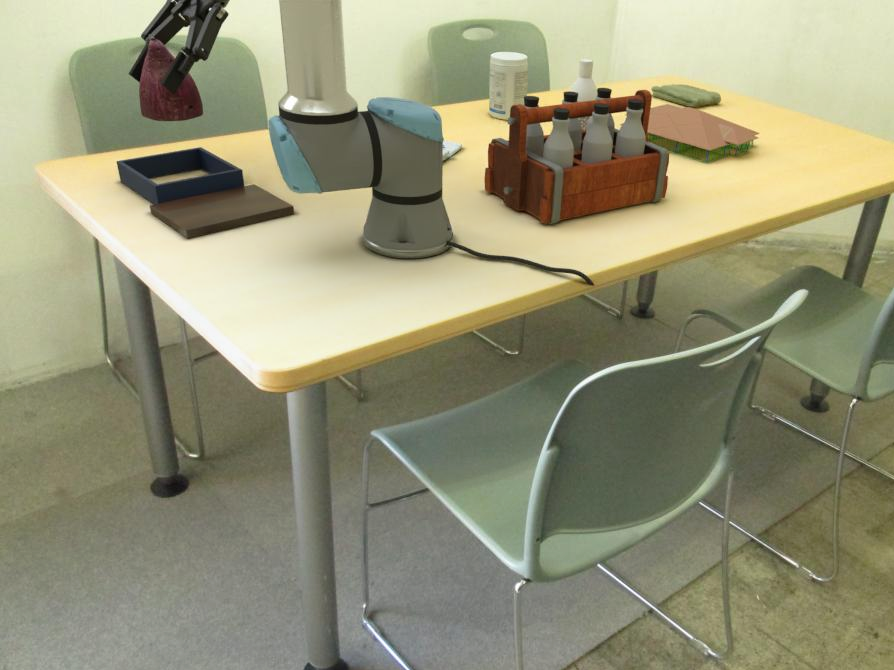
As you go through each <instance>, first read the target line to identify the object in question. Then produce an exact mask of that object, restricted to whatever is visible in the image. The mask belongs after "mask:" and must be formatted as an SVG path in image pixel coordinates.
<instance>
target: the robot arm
mask: <svg viewBox="0 0 894 670" xmlns="http://www.w3.org/2000/svg"><path fill="white" fill-rule="evenodd" d="M230 1H231V0H166V2H165V4H164V5H163V6H162V8H160V10H159V11H158V12H157V14H156V15H155V16H154V18H153V19H152V21H150V23H149V24H148V25H147V26H146V28H145V29H144V30H143V31H142V33H141V34H140V38H141V39H142V40H143V41H144V42H145V45H144V46H143V48H142V49H141V52H139V55H138V56H137V59H136V60H135V61H134V64H133V66H131V69H130V70H129V71H128V75H129V76H130V77H131V78H132V79H134V80H135V81H137V82H138V83H139V84H140V79H141V73H142V69H143V65H144V61H145V58H146V56H147V52H148V46H149V42H150V41H151V40H152V39H151V37H154V38H156V39H157V40H159V41H161V42H162V43H163V44H164V45H167V44H168V42H170V41H171V40H172V39H174V37H175V36H176V35H177V34H178V33H179V32H180V31H182V29H183V28H188V32H187V36H186V40H185V45H184V46H183V47H180V50H181V51H179V52H178V53H177V55H176V57H174V58H175V60H174V62H173V63H172V65H171V67H170V68H169V70H168V72H167V73H166V75H165V77H164V78H163V80H162V82H161V83H160V84H162V85H163V86H164V87H165V88H167V89H168V90H169V91H170V92H171V93H173V94H175V93H176V92H177V90H178V88H179V87H180V85H181V83H182V81H183V80H184V78H185V76H186V75H187V74H188V73H189V74H190V71H191V69H192V68H193V66H194V64H195V63H198V62H199V61H200V60H202V61H204V62H205V61H207V60H208V59H209V57H210V55H211V52H212V50H213V47H214V45H215V42H216V40H217V38H218V35H219V33H220V30H221V28H222V26H223V24H224V23H225V21H226V19H227V18H228V17H229V12H228V11H227V10H226V9H225V8H226V7H227V6H228V4H229V2H230ZM278 3H279V14H280V15H279V16H280V24H281V25H280V26H281V34H282V35H281V36H282V46H283V57H284V67H285V78H286V88H287V91H286V92H285V93H284V94H283V95H282V96H281V98H280V99H278V101H277V103H278V105H277V106H278V115H273V116H272V117H269V119H268V133H269V138H270V139H269V140H270V143H271V148H272V150H273V154H274V155H273V156H274V158H275V160H276V164H277V167H278V169H279V173H280V175H281V177H282V179H283V181H284V183H285V185H286V186H287V187H288V188H289V190H290V191H292V193H293V192H294V193H295V194H298V195H299V194H300V195H301V194H304V195H305V194H318V195H321V194H323V193H333V192H342V191H351V190H360V189H368V188H369V189H370V188H371V201H370V203H369V208H368V212H367V216H366V220H365V223H364V225H363V229H362V239H363V240H362V241H363V244H364V246H365V247H366V249H369V250H370V251H372V252H374V253H376V254H379V255H381V256H385V257H391V258H396V259H423V258H428V257H429V258H430V257H434V256H437V255H440V254H442V253H444V252H446V251H448V250H449V249H451V247H453V248H455V249H458V250H460V251H462V252H465V253H467V254H470V255H472V256H473V257H477V258H481V259H487V260H496V261H508V262H515V263H520V264H524V265H527V266H531V267H533V268H535V269H536V268H537V269H540V270H543V271H547V272H551V273H561V274H562V273H563V274H571V275H574V276H575V275H576V276H578V277H580V278H581V279H582V280H584V281H585V282H586V283H587V285H589V286H592V287H593V286H595V283H594V282H593V281H592V279H591V278H590V277H589V276H587V274H585V273H584V272H582V271H580V270H577V269H573V268H566V267H565V268H564V267H553V266H548V265H545V264H541V263H539V262H535V261H532V260H529V259H525V258H521V257H516V256H510V255H497V254H489V253H488V254H487V253H482V252H479V251H476V250H474V249H472V248H469V247H467V246H465V245H462V244H459V243H456V242H455V241H454V232H453V228H452V225H451V221H450V218H449V215H448V212H447V208H446V205H445V202H444V198H443V163H444V161H443V141H445V139H444V137H443V120H442V116H441V115H440V113H439V112H438V111H437V110H436V109H435V108H433V107H432V106H430V105H427V104H426V103H425V104H424V103H422V102H419V101H415V100H412V99H407V98H406V99H405V98H400V97H389V96H379V97H376V98H375V97H374V98H373V97H372V98H371V99H369V101H368V103H367V105H366V109H367V110H362V111H361V110H360V111H359V105H358V101H357V100H356V99H355V98H354V97H353V96H352V95H351V94H350V93H349V92H348V90H347V89H348V87H347V74H346V73H347V72H346V57H345V40H344V24H343V23H344V21H343V5H342V0H278Z"/></svg>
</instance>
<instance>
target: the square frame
mask: <svg viewBox="0 0 894 670" xmlns="http://www.w3.org/2000/svg"><path fill="white" fill-rule="evenodd" d="M116 166H117V167H116V168H117V171H118V176H119V180H120V183H122V184H123V185H125V187H128V188H129V189H131V190H132V191H133V192H135V193H136V194H138V195H139V196H140V197H142V198H144V199H145V200H147V201H148V202H150V203H151V204H152V205H154V204H159V203H164V202H169V201H174V200H179V199H184V198H189V197H193V196H198V195H203V194H208V193H213V192H218V191H223V190H228V189H233V188H238V187H243V186H245V181H244V180H245V179H244V175H243V174H244V173H243V169H242V168H241V167H238V166H236V165H234V164H232V163H231V162H229V161H227V160H225V159H223V158H221V157H220V156H218V155H216V154H214V153H213V152H211V151H209V150H207V149H205V148H204V147H201V146H199V147H193V148H188V149H187V148H185V149H180V150H174V151H169V152H163V153H158V154H157V153H156V154H151V155H146V156H139V157H134V158H128V159H122V160H121V159H120V160H116ZM200 169H202V170H204V171H206V172H208V173H209V174H204V175H199V176H194V177H193V176H192V177H189V178H183V179H178V180H173V181H167V182H162V183H156V182H154V181H153V180H151V178H157V177H162V176H169V175H174V174H179V173H184V172H190V171H195V170H200Z"/></svg>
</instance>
